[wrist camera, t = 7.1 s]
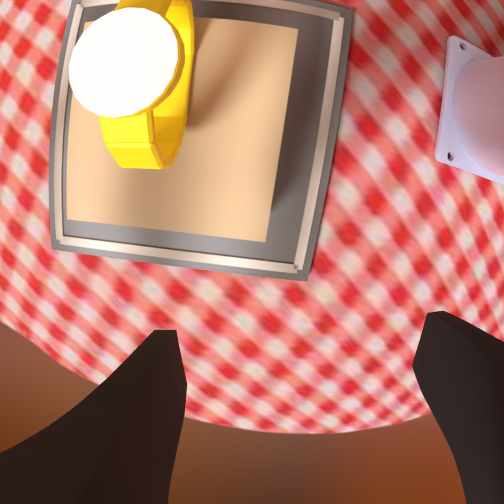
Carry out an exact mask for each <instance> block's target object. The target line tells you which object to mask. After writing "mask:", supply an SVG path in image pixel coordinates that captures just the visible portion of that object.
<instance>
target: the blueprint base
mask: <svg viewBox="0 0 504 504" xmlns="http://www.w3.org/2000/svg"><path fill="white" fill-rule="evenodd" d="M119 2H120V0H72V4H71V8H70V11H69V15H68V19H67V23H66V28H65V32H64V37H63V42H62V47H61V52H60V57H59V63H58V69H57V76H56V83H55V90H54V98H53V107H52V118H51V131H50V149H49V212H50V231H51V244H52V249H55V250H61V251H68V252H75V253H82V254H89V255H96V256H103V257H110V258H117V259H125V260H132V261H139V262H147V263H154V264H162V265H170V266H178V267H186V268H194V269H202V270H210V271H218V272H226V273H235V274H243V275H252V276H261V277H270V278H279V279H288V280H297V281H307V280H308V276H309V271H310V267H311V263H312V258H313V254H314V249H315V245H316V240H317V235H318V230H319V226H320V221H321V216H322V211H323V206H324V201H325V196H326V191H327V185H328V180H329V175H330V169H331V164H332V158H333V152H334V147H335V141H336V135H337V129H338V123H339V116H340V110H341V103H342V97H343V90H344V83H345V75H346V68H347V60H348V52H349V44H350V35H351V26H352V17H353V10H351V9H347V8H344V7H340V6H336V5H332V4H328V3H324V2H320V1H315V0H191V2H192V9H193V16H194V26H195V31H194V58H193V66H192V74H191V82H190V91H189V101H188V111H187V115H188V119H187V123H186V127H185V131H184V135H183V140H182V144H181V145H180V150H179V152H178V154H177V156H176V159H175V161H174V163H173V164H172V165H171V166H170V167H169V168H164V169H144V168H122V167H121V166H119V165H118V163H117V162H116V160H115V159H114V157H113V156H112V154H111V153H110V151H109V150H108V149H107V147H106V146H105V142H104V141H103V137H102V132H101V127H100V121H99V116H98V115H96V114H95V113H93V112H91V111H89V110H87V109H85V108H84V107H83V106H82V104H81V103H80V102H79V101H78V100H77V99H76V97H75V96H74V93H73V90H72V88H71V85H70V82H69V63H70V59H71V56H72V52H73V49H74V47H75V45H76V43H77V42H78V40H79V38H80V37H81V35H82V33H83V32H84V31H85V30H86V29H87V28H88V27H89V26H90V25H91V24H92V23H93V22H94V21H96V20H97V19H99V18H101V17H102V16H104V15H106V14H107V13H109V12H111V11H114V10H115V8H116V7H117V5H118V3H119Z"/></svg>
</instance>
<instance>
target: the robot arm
mask: <svg viewBox="0 0 504 504" xmlns="http://www.w3.org/2000/svg"><path fill="white" fill-rule="evenodd" d="M460 44H461V45H462V48H463V50H462V49H461V47H460ZM449 152H450V155H451V157H450V159H449V160H448V158H447V155H448V153H449ZM434 155H435V158H436V160H437V161H439V162H441V163H444V164H447V165H450V166H453V167H456V168H459V169H462V170H465V171H468V172H470V173H473V174H476V175H479V176H481V177H484V178H487V179H489V180H492V181H494V182H497V183H499V184H502V185H504V56H499V57H492V56H491V55H489V54H488V53H486V52H484V51H483V50H481V49H479V48H477V47H476V46H474V45H472V44H470V43H469V42H467V41H465V40H463V39H461V38H459V37H457V36H455V35H453V36H449V37H448V38H447V50H446V66H445V78H444V88H443V97H442V106H441V113H440V120H439V127H438V134H437V140H436V146H435V151H434ZM412 367H413V370H414V373H415V376H416V378H417V381H418V384H419V386H420V389H421V392H422V394H423V396H424V398H425V400H426V401H427V403H428V405H429V407H430V409H431V411H432V413H433V415H434V417H435V418H436V421H437V423H438V424H439V426H440V428H441V430H442V432H443V434H444V436H445V438H446V440H447V442H448V444H449V446H450V449H451V451H452V453H453V455H454V459H455V462H456V465H457V467H458V471H459V474H460V477H461V481H462V485H463V489H464V493H465V498H466V502H467V504H504V342H503V341H501V340H499V339H497V338H495V337H494V336H492V335H490V334H488V333H486V332H485V331H483V330H481V329H479V328H477V327H476V326H474V325H472V324H470V323H468V322H466V321H464V320H462V319H460V318H458V317H456V316H454V315H452V314H450V313H448V312H445V311H438V312H431V313H427V316H426V320H425V323H424V327H423V331H422V334H421V338H420V341H419V344H418V348H417V351H416V354H415V358H414V361H413V364H412ZM186 392H187V381H186V377H185V372H184V367H183V363H182V358H181V353H180V348H179V343H178V337H177V332H176V330H154V331H153V332H152V333H151V334H150V335H149V336H148V337H147V338H146V339H145V340H144V341H143V342H142V343H141V344H140V345H139V346H138V348H137V349H136V350H135V351H134V352H133V353H132V354H131V355H130V356H129V357H128V358H127V359H126V360H125V361H124V362H123V363H122V364H121V365H120V366H119V367H118V368H117V369H116V370H115V371H114V372H113V373H112V374H111V375H110V376H109V377H108V378H107V379H106V380H105V381H104V382H102V383H101V384H100V385H99V386H98V387H97V388H96V389H95V390H94V391H93V392H92V393H90V394H89V395H88V396H87V397H86V398H85V399H84V400H82V401H81V402H80V403H79V404H78V405H76V406H75V407H74V408H72V409H71V410H70V411H69V412H67V413H66V414H64V415H63V416H62V417H60V418H59V419H58V420H56V421H55V422H53V423H52V424H50V425H49V426H47V427H46V428H44V429H43V430H41V431H39V432H38V433H36V434H34V435H33V436H31V437H30V438H28V439H26V440H24V441H23V442H21V443H19V444H17V445H16V446H14V447H12V448H10V449H7V450H6V451H3V452H1V453H0V504H168V495H169V487H170V481H171V475H172V470H173V466H174V461H175V457H176V452H177V447H178V442H179V437H180V433H181V429H182V424H183V419H184V414H185V403H186Z"/></svg>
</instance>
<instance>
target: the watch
mask: <svg viewBox="0 0 504 504" xmlns="http://www.w3.org/2000/svg"><path fill="white" fill-rule="evenodd" d="M194 31H195V26H194V16H193V9H192V2H191V0H120V2H119V3H118V5H117V7H116V8H115V10H114V11H111V12H109V13H107V14H106V15H104V16H102V17H101V18H99V19H97V20H96V21H94V22H93V23H92V24H91V25H90V26H89V27H88V28H87V29H86V30H85V31H84V32H83V33H82V35H81V37H80V38H79V40H78V42H77V43H76V45H75V47H74V49H73V52H72V56H71V59H70V63H69V82H70V85H71V88H72V90H73V93H74V96H75V97H76V99H77V100H78V101H79V102H80V103H81V104H82V106H83V107H84V108H85V109H87V110H89V111H91V112H93V113H95V114H96V115H98V116H99V121H100V127H101V132H102V137H103V141H104V142H105V146H106V147H107V149H108V150H109V151H110V153H111V154H112V156H113V157H114V159H115V160H116V162H117V163H118V165H119V166H121V167H122V168H144V169H164V168H169V167H170V166H171V165H172V164H173V163H174V161H175V159H176V156H177V154H178V152H179V150H180V145H181V144H182V140H183V135H184V131H185V127H186V123H187V119H188V115H187V111H188V101H189V91H190V82H191V74H192V66H193V58H194Z"/></svg>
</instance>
